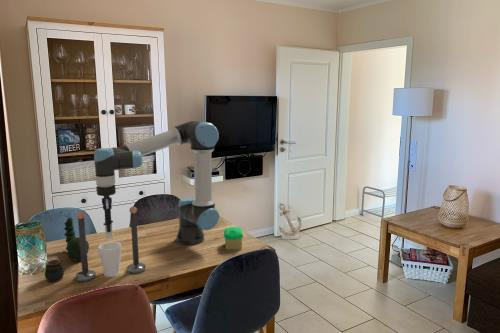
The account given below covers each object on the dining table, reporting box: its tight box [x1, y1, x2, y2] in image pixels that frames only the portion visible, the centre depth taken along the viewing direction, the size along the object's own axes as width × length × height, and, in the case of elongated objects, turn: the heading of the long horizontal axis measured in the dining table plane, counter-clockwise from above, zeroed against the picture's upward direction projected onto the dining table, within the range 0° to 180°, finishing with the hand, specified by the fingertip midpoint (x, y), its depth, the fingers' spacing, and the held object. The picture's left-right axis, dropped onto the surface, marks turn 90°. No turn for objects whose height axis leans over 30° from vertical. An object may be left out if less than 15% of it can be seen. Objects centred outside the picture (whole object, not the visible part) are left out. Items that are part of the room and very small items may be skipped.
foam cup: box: [97, 241, 123, 278], centre depth 166 cm, size 10×9×13 cm
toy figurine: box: [63, 216, 90, 262], centre depth 183 cm, size 9×19×25 cm
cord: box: [129, 206, 140, 266], centre depth 168 cm, size 3×3×28 cm
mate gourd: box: [44, 258, 65, 283], centre depth 161 cm, size 7×8×10 cm
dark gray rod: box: [76, 211, 89, 274], centre depth 161 cm, size 3×3×28 cm
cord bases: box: [74, 262, 146, 283], centre depth 167 cm, size 29×8×2 cm, turn 111°
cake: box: [223, 226, 244, 250], centre depth 197 cm, size 10×11×10 cm
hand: (109, 238), depth 164 cm, fingers closed
